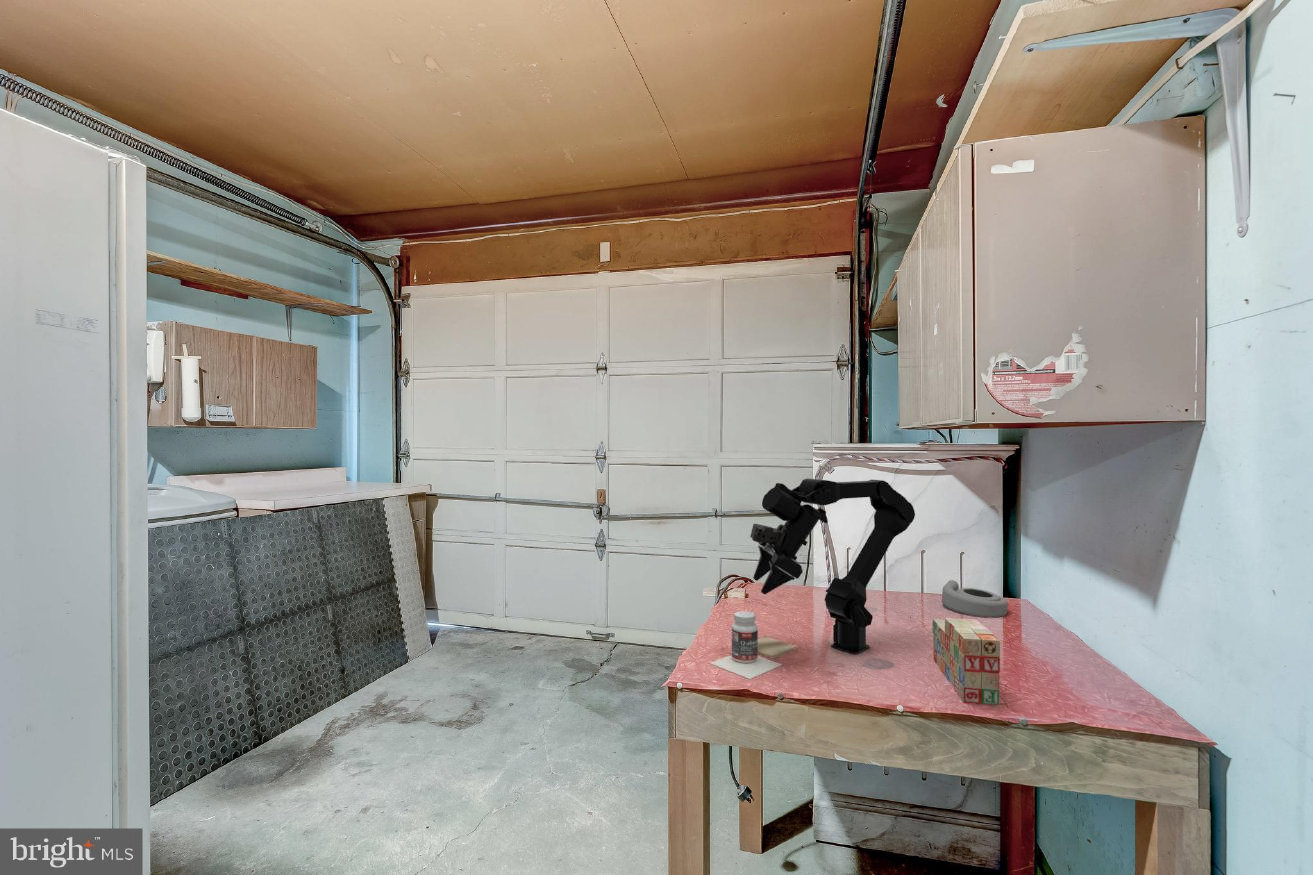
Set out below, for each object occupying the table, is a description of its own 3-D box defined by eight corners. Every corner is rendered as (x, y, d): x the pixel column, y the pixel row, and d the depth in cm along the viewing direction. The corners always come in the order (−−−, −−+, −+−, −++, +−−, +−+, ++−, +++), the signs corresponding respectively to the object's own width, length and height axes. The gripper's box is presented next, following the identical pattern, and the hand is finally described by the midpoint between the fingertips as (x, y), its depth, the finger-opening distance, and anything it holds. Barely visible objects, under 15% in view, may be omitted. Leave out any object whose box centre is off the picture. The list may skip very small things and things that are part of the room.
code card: (782, 665, 124) (782, 664, 124) (749, 679, 117) (749, 678, 117) (742, 651, 132) (742, 650, 132) (710, 663, 125) (710, 663, 125)
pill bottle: (742, 665, 123) (742, 619, 123) (726, 657, 128) (726, 612, 128) (763, 660, 126) (763, 615, 126) (746, 652, 131) (746, 608, 131)
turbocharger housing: (1000, 626, 154) (1010, 613, 165) (1002, 602, 153) (1012, 591, 165) (933, 610, 165) (946, 598, 176) (934, 587, 164) (948, 577, 176)
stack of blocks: (932, 660, 127) (932, 604, 127) (963, 662, 126) (962, 606, 126) (963, 703, 106) (963, 637, 106) (1000, 706, 105) (1000, 639, 105)
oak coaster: (796, 648, 134) (796, 646, 134) (773, 658, 128) (773, 655, 128) (765, 638, 140) (765, 636, 140) (741, 647, 134) (741, 645, 134)
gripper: (759, 502, 138) (723, 555, 139) (776, 519, 120) (735, 580, 120) (797, 526, 139) (761, 579, 140) (820, 547, 120) (779, 608, 121)
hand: (758, 586), depth 130 cm, fingers open, 9 cm apart
